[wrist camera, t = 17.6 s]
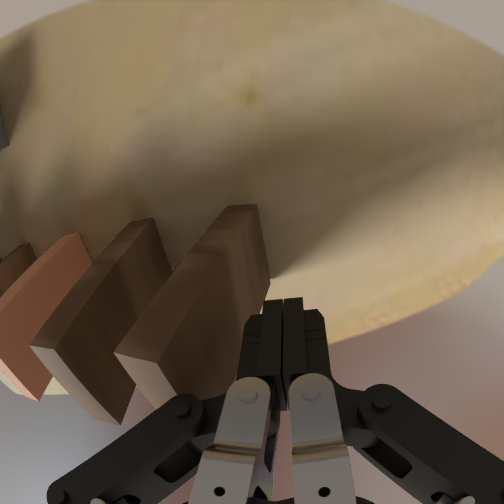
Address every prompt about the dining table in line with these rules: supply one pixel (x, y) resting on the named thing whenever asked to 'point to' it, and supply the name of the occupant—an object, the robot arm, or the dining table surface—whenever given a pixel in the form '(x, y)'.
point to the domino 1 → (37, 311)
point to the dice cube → (2, 133)
